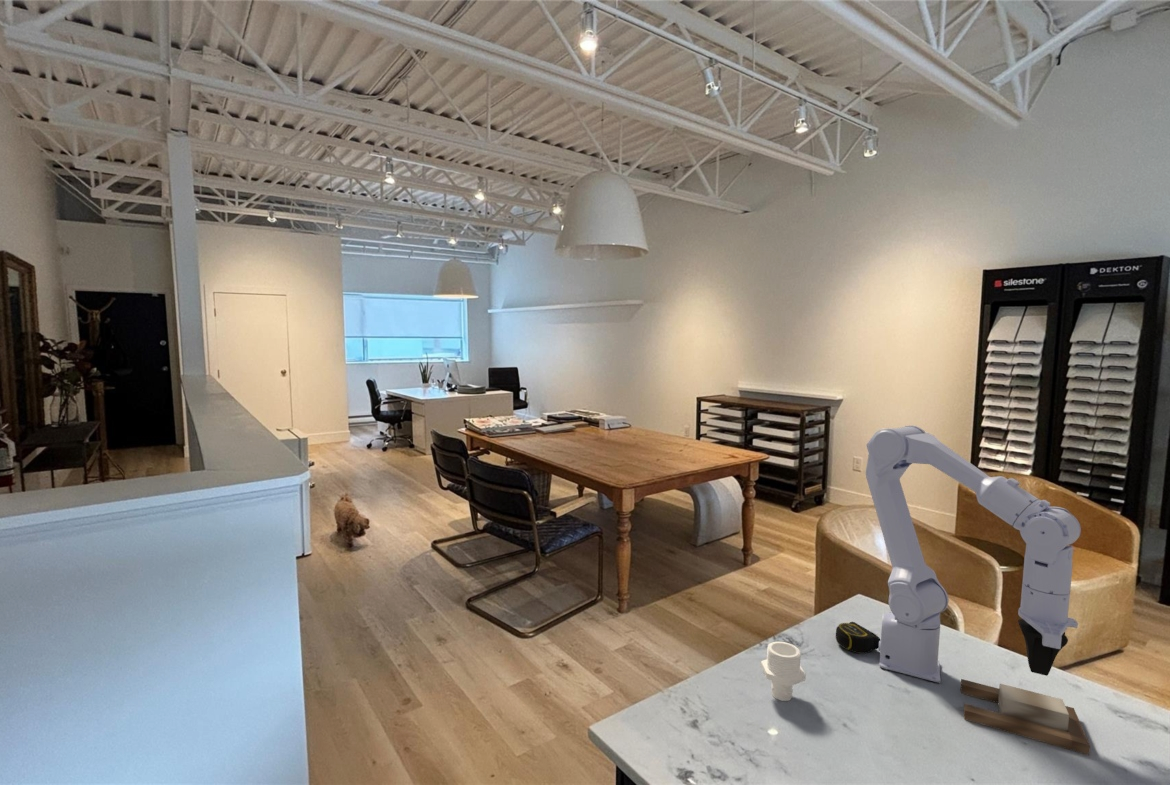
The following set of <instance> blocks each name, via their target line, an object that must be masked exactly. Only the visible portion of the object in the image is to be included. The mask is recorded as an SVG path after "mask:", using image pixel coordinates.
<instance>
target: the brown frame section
mask: <svg viewBox="0 0 1170 785" xmlns="http://www.w3.org/2000/svg"><path fill="white" fill-rule="evenodd" d="M960 692H961V694H963V695H967V696H970V697H973V698H974V697H975V698H978V699H981V700H982V699H983V700H985V701H989V702H993V703H997V704H998V698H999V687H998V688H997V687H994V686H990V685H988V684H987V685H986V684H982V683H978V682H975V681H971V680H967V679H962V678H961V680H960ZM963 704H964V705H963V717H964V720H966V721H970V722H973V723H976V724H979V725H984V726H987V727H991V728H993V729H997V730H1001V731H1005V732H1008V733H1011V734H1015V735H1017V736H1021V737H1024V738H1028V739H1032V740H1035V741H1039V742H1041V743H1047V744H1050V745H1053V746H1056V747H1059V748H1064V749H1066V750H1070V751H1073V752H1077V753H1081V754H1083V755H1086V756H1090V750H1091V745H1090V742H1089V740H1088V738H1087V735H1086V733H1085V730H1084V728H1083V726H1082V724H1081V722H1080V720H1079V717H1078V715H1077V712H1076V710H1075V708H1074V707H1070V706H1068V705H1065V707H1066V709H1067V711H1068V714H1069V722H1068V732H1066V731H1062V730H1058V729H1055V728H1051V727H1048V726H1044V725H1040V724H1037V723H1033V722H1030V721H1026V720H1022V719H1019V718H1015V717H1011V716H1008V715H1004V714H1001V713H1000V712H997V711H992V710H988V709H986V708H982V707H978V706H975V705H972V704H967V703H963Z"/></svg>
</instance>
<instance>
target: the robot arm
mask: <svg viewBox="0 0 1170 785" xmlns="http://www.w3.org/2000/svg"><path fill="white" fill-rule="evenodd" d="M866 449H867V452H868V456H867V462H866V468H865V479H866V480H867V484H868V490H869V491H870V494H871V495H870V496H871V498H872V501H873V502H872V503H873V505H874V509H875V513H876V516H877V518H878V519H877V520H878V522H879V526H880V530H881V532H882V536H883V539H884V543H885V545H886V546H885V547H886V550H887V553H888V556H889V560H890V564H891V566H892V569H891V572H890V575H889V577H888V579H887V586H888V591H889V596H888V607H889V610H890V612H886V611H884V612H882V621H881V633H880V635H881V636H880V640H881V641H879V648H878V652H880V653H879V665H878V666H879V667H880V668H882V669H884V670H889V671H893V672H897V673H900V674H905V675H908V676H911V677H915V678H919V679H923V680H926V681H931V682H934V683H938V684H939V683H941V670H940V668H941V667H940V660H939V648H940V647H939V646H940V634H941V613H943V612H945V611H946V609H947V608H948V606H949V596H948V593H947V591H946V588H944V587H943V585H942V584H941V583H940V581H939V579H938V577H937V574H936V572H935V571H934V569H932V568H931V567H930V566H929V565H927V564H926V561H925V559H924V556H923V552H922V549H921V546H920V543H919V539H918V536H917V532H916V530H915V526H914V522H913V520H912V516H911V513H910V510H909V506H908V503H907V500H906V496H905V494H904V490H903V487H902V483H901V480H900V479H901V478H902V476H903V475H904V474H905V472H906V471H907V470H908V468H909V467H910V466H911V465H912V464H917V465H918V464H919V465H930V466H932V467H934V468H935V469H937V470H938V471H940V472H942V473H943V474H945V475H947V476H949V478H951V479H953V480H954V481H956V482H958V483H959V484H961V485H963V486H965V487H966V488H968V489H970V490H971V491H973V492H974V493H975V496H976V500H977V503H978V504H979V505H981V506H982V507H983V508H985V509H986V510H988V511H989V512H991V513H992V514H994V516H996V517H998V518H1000V519H1001V520H1002V521H1004V522H1005V523H1006V524H1009V525H1010V526H1011V527H1013V528H1014V529H1015V530H1018V531H1019V534H1020V536H1021V538H1022V540H1023V542H1024V543H1025V551H1024V552H1025V553H1024V559H1023V572H1022V584H1021V596H1020V607H1019V608H1018V611H1017V612H1018V616H1019V617H1020V618H1021V619H1017V623H1018V626H1019V628H1020V631H1021V633H1022V635H1023V639H1024V642H1025V649H1026V656H1027V662H1028V667H1029V671H1030V672H1031V673H1034V674H1038V675H1042V676H1048V675H1049V674H1050V672H1051V670H1052V668H1053V664H1054V663H1055V660H1056V657H1057V656H1058V654H1059V652H1060V651H1061V650H1062V649H1063V648H1064V647H1066V646H1067V644H1068V642H1069V638H1068V637H1067V635H1066V631H1067V629H1069V628H1074V629H1077V628H1078V625H1079V623H1078V621H1077V620H1076V619H1075V618H1072V617H1069V608H1070V607H1069V606H1070V595H1071V588H1072V587H1071V585H1072V576H1073V555H1074V545H1072V544H1074V543H1075V542H1076V541H1077V540H1078V539H1079V538H1080V536H1081V532H1082V529H1081V524H1080V522H1079V520H1078V519H1077V517H1076V516H1074V515H1073V514H1072V513H1071V512H1070V511H1069V510H1068V509H1067V508H1064V507H1061V506H1051V502H1049V501H1048V500H1046V499H1042V500H1041V499H1040V498H1038V497H1036V496H1034V495H1033V494H1032V493H1030V492H1029V491H1027V490H1025V489H1024V488H1022V487H1020V486H1019V485H1020V484H1021V483H1020V481H1018V480H1017V479H1015V478H1014V477H1012V478H1008V479H1007V478H1006V477H1004V476H1002V475H1001V476H1000V475H998V476H992V477H991V476H989V475H988V474H986V472H984V471H982V470H981V469H980V468H979V467H977V466H975V465H974V464H973V463H971V462H970V461H968V460H967V459H965V458H964V457H963V456H961V455H960V454H958V453H957V452H956V451H954V450H953V449H951V448H950V447H949V446H947V445H946V444H944V443H943V442H942V441H941V440H939V439H938V437H936V436H935V435H933V434H931V433H929V432H926V430H924V429H922V428H921V427H919V426H917V425H905V426H901V427H894V428H893V427H892V428H889V427H888V428H887V427H886V428H881V429H879V430H877V431H876V432H875V433H874V434H873V435H872V436H871V438H870V439H869V440H868V442H867V443H866Z"/></svg>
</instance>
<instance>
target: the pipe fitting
mask: <svg viewBox="0 0 1170 785" xmlns="http://www.w3.org/2000/svg"><path fill="white" fill-rule="evenodd" d="M766 652H767V653H766V659H763V660H761V662H760V668H761V669H762V672H763V674H764V676H765V679H766V680H770V681H771V695H772V696H773V698H775V699H776V700H778V701H782V702H788V701H790V700H792V697H793V686H794V685H797V684H799V683H802V682H805V681H806V676H807V675H806V673H805V671H804V669H803V667H802V666H801V657H802V656H801V653H802V652H801V650H800V649H799V648H798V647H797V646H796V645H794V644H792V643H789V642H786V641H785V642H784V641H773V642H770V643H768V644H767V651H766Z"/></svg>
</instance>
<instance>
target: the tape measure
mask: <svg viewBox="0 0 1170 785" xmlns="http://www.w3.org/2000/svg"><path fill="white" fill-rule="evenodd" d="M835 640H836V642H837V644H838V645H839V646H841V647H842V648H844V649H846V650H848V651H850V652H853V653H858V654H867V653H870V652H872V651H874V650H879V641H881V637H879V636H878V635H877V634H875V633H874V632H872V631H871V630H869V629H867V628H865V627H864V626H862V625H860V624H858V623H856V622H855V621H850V622H842V623H839V624H838V626H836V629H835Z"/></svg>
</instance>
